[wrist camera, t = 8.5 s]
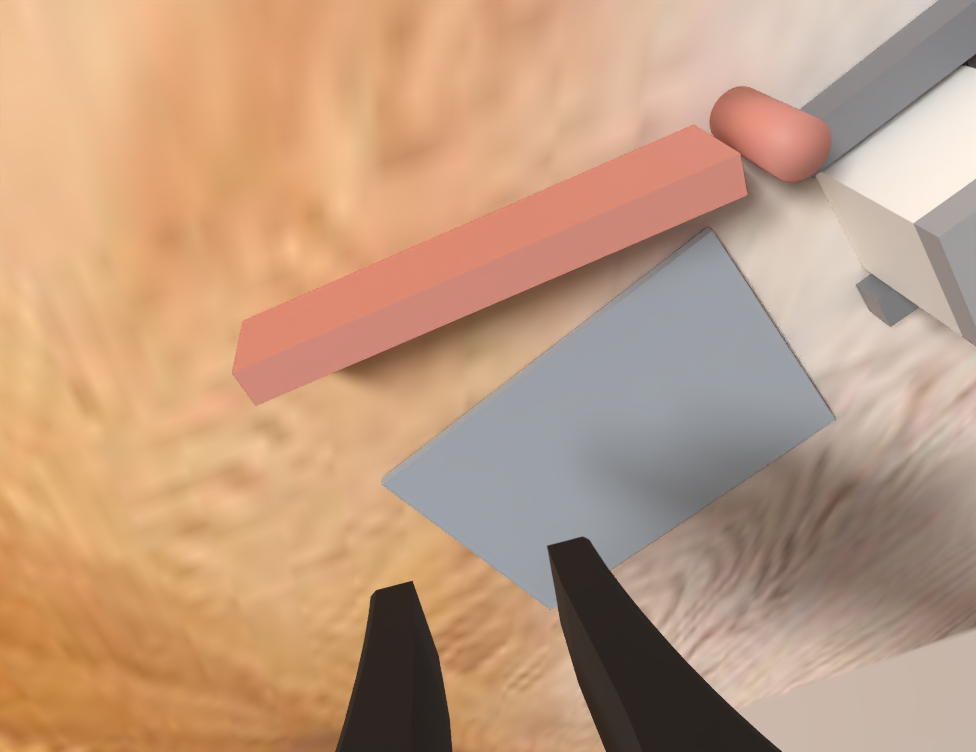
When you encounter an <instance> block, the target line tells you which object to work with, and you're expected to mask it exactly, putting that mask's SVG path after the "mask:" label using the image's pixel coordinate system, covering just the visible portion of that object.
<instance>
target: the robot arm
mask: <svg viewBox="0 0 976 752" xmlns="http://www.w3.org/2000/svg"><path fill="white" fill-rule="evenodd" d="M547 549H548V555H549V561H550V566H551V572H552V577H553V583H554V588H555V594H556V600H557V605H558V611H559V616H560V622H561V626H562V629H563V633H564V636H565V639H566V643H567V646H568V650H569V653H570V656H571V660H572V663H573V666H574V670H575V673H576V676H577V680H578V683H579V686H580V688H581V691H582V693H583V696H584V698H585V701H586V703H587V706H588V708H589V711H590V713H591V716H592V718H593V720H594V723H595V725H596V728H597V730H598V733H599V735H600V738H601V740H602V743H603V745H604V748H605V750H606V752H782V751H781V750H779V749H778V748H777V747H776V746H775V745H774V744H772V743H771V742H770V741H769V740H768V739H766V738H765V737H764V736H763V735H762V734H761V733H760V732H759V731H758V730H756V729H755V728H754V727H753V726H752V725H751V724H750V723H749V722H748V721H747V720H746V719H744V718H743V717H742V716H741V715H740V714H739V713H738V712H737V711H736V710H735V709H734V708H733V707H731V706H730V705H729V704H728V703H727V702H726V701H725V700H724V699H723V698H722V697H721V696H720V695H719V694H718V693H717V692H716V691H715V690H714V689H713V688H712V687H711V686H710V685H709V684H708V683H707V682H706V681H705V680H704V679H703V678H702V677H701V676H700V675H699V674H698V673H697V672H696V671H695V670H694V669H693V668H692V667H691V666H690V665H689V664H688V663H687V662H686V661H685V659H684V658H683V657H682V656H681V655H680V654H679V653H678V652H677V651H676V650H675V649H674V648H673V647H672V645H671V644H670V643H669V642H668V641H667V640H666V639H665V637H664V636H663V635H662V634H661V633H660V632H659V631H658V629H657V628H656V627H655V626H654V625H653V624H652V623H651V622H650V620H649V619H648V618H647V617H646V616H645V615H644V613H643V612H642V611H641V610H640V609H639V607H638V606H637V605H636V604H635V603H634V601H633V600H632V599H631V598H630V596H629V595H628V594H627V592H626V591H625V590H624V589H623V587H622V586H621V585H620V583H619V582H618V581H617V579H616V578H615V577H614V575H613V574H612V573H611V571H610V570H609V568H608V567H607V566H606V564H605V563H604V561H603V560H602V558H601V557H600V555H599V554H598V552H597V551H596V549H595V548H594V546H593V544H592V543H591V541H590V540H589V539H587V538H585V537H583V536H582V537H578V538H574V539H571V540H567V541H563V542H559V543H555V544H551V545H548V546H547ZM335 752H452V741H451V729H450V718H449V712H448V706H447V700H446V694H445V689H444V683H443V678H442V672H441V667H440V661H439V656H438V653H437V650H436V647H435V644H434V641H433V638H432V636H431V633H430V630H429V627H428V624H427V621H426V618H425V615H424V613H423V610H422V607H421V604H420V601H419V598H418V595H417V592H416V590H415V587H414V584H413V581H410V582H406V583H402V584H398V585H395V586H391V587H387V588H383V589H379V590H376V591H375V592H374V593H373V595H372V596H371V599H370V608H369V615H368V621H367V628H366V633H365V639H364V644H363V649H362V653H361V658H360V662H359V667H358V671H357V676H356V680H355V683H354V687H353V691H352V695H351V699H350V702H349V706H348V710H347V714H346V718H345V721H344V725H343V728H342V732H341V735H340V738H339V741H338V745H337V748H336V751H335Z"/></svg>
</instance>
